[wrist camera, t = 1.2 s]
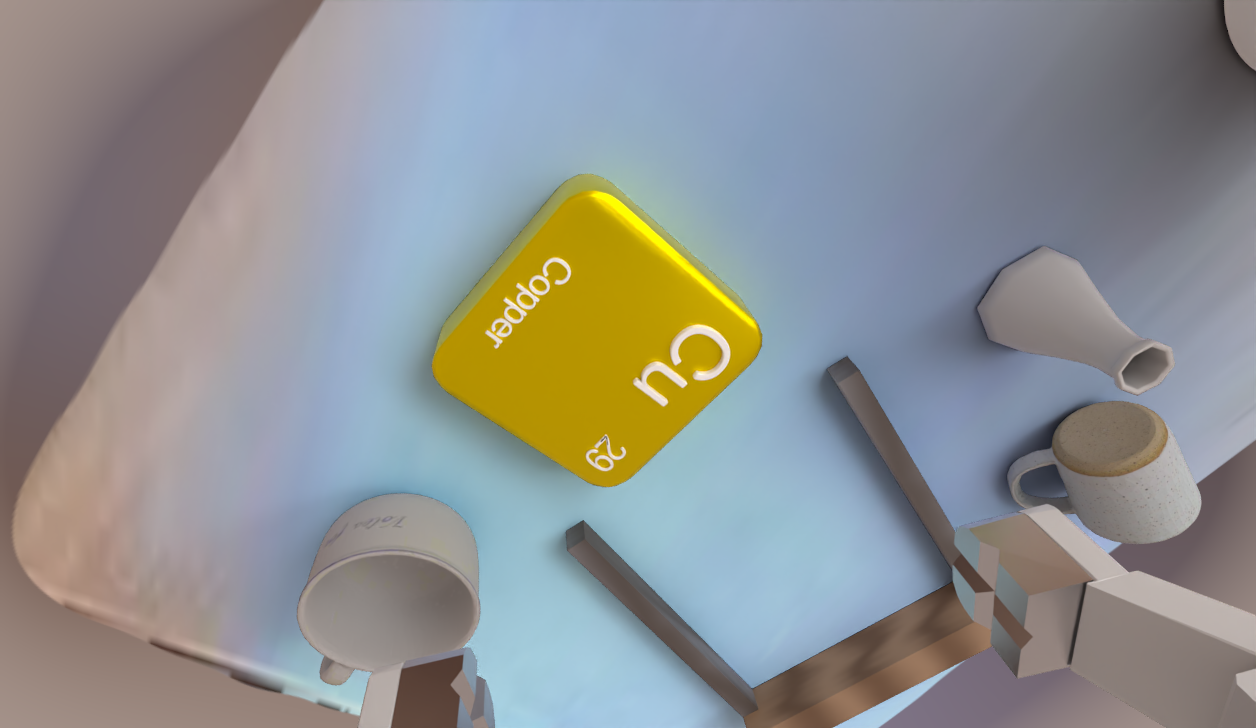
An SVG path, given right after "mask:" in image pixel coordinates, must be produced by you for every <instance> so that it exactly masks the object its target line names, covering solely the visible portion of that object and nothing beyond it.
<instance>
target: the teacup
mask: <svg viewBox="0 0 1256 728" xmlns="http://www.w3.org/2000/svg"><path fill="white" fill-rule="evenodd" d="M478 591H479V565H478V552H477V546H476V542H475V538H474V536H473V534H472V531H471V529H470V528H469V526H468V525H467V523H466V522H465V520H464V519H463V518H462V517H461V516H460V515H459V514H458V513H457V512H456V511H454V510H453V509H452V508H450V507H449V506H447V505H446V504H444V503H442V502H440V501H438V500H435V499H433V498H430V497H426V496H422V495H417V494H407V493H395V494H386V495H381V496H377V497H373V498H370V499H368V500H365V501H363V502H361V503H359V504H357V505H355V506H353V507H352V508H350V509H349V510H347V511H346V512H345V513H344V514H342V515H341V516H340V517H339V518H338V519H337V520H336V521H335V522H334V524H333V525H332V526H331V528H330V529H329V530H328V532H327V534H326V535H325V537H324V539H323V541H322V543H321V545H320V548H319V550H318V553H317V555H316V558H315V560H314V563H313V566H312V569H311V572H310V575H309V578H308V582H307V584H306V586H305V588H304V590H303V591H302V594H301V596H300V599H299V603H298V607H297V620H298V623H299V627H300V630H301V632H302V634H303V636H304V637H305V639H306V640H307V641H308V642H309V644H310V645H311V646H312V647H313V648H315V649H316V650H317V651H318V652H320V653H321V654H322V655H324V658H323V661H322V664H321V668H320V678H321V679H322V681H324V682H325V683H328V684H331V685H341V684H343V683H344V682H345V681H346V680H347V679H348V678H349V677H350V675H351V674H352V672H353V671H354V669H357V670H361V671H368V672H373V671H374V669H375V668H378V667H382V666H387V665H391V664H396V663H400V662H404V661H407V660H412V659H416V658H421V657H425V656H430V655H435V654H439V653H444V652H448V651H453V650H457V649H461V648H462V647H463V646H464V645H465V644H466V643H467V642H468V641H469V640H470V638H471V637H472V635H473V634H474V632H475V630H476V628H477V625H478V623H479V618H480V602H479V597H478Z"/></svg>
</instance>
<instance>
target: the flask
mask: <svg viewBox="0 0 1256 728" xmlns="http://www.w3.org/2000/svg"><path fill="white" fill-rule="evenodd" d="M977 309H978V312H979V315H980V317H981V320H982V323H983V325H984V328H985V331H986V333H987V336H988V339H989V340H991V341H994V342H997V343H999V344H1002V345H1005V346H1008V347H1010V348H1013V349H1016V350H1019V351H1022V352H1027V353H1032V354H1038V355H1044V356H1051V357H1057V358H1061V359H1066V360H1071V361H1076V362H1080V363H1085V364H1088V365H1090V366H1093V367H1095V368H1098V369H1099V370H1101V371H1103V372H1104V373H1106V374H1107V375H1109V376H1111V377H1112V378H1113V379H1114V382H1115V385H1116V386H1117V388H1119V389H1121V390H1123V391H1126V392H1129V393H1131V394H1134V395H1137V396H1138V395H1140V394H1142V393H1144V392H1146V391H1147V390H1149V389H1151V388H1153V387H1155V386H1157V385H1159V384H1160V383H1161V382H1162V381H1163V379H1164V378H1165V377H1166V376H1167V374H1168V373H1169V372H1170V371H1171V370H1172V368H1173V367H1174V366H1175V362H1174V357H1173V352H1172V348H1171V347H1169V346H1167V345H1164V344H1162V343H1159V342H1157V341H1154V340H1152V339H1148V338H1147V339H1143V338H1141V337H1140V336H1138V335H1137V334H1135V333H1134V332H1133V331H1132V330H1131V329H1130V328H1129V327H1128V326H1126V325H1125V324H1124V323H1123V322H1122V321H1121V320H1120V319H1118V317H1117V316H1116V314H1115V313H1114V312H1113V310H1112V309H1111V308H1110V306H1109V305H1108V304H1107V302H1106V301H1105V300H1104V298H1103V297H1102V296H1101V294H1100V293H1099V292H1098V290H1097V289H1096V287H1095V286H1094V284H1093V282H1092V281H1091V279H1090V278H1089V276H1088V275H1087V273H1086V272H1085V270H1084V269H1083V267H1082V266H1081V265H1080V263H1079V262H1078V261H1077V260H1076V259H1074V258H1071V257H1069V256H1067V255H1064V254H1062V253H1060V252H1057V251H1055V250H1053V249H1050V248H1048V247H1045V246H1043V247H1041V248H1039V249H1037V250H1036V251H1034V252H1032V253H1030V254H1029V255H1027V256H1025V257H1023V258H1021V259H1020V260H1018V261H1016V262H1014V263H1013V264H1011V265H1009V266H1007V267H1006V268H1004V269H1002V271H1001V272H1000V274H999V275H998V277H997V278H996V280H995V281H994V283H993V284H992V286H991V287H990V289H989V290H988V292H987V294H986V295H985V297H984V298H983V300H982V301H981V303H980V304H979V306H978V307H977Z"/></svg>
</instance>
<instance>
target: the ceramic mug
mask: <svg viewBox="0 0 1256 728" xmlns="http://www.w3.org/2000/svg"><path fill="white" fill-rule="evenodd" d="M1052 464H1056V467H1057V469H1058V471H1059V475H1060V477H1061V478H1062V480H1063V482H1064V485H1065V489H1066V491H1067V494H1068V497H1060V498H1043V497H1036V496H1031V495H1029V494H1026V493H1024V492H1023V491H1022V489H1021V487H1020V484H1019V482H1020V479H1021V476H1022V475H1023V474H1024V473H1026V472H1028V471H1030V470H1033V469H1036V468H1039V467H1042V466H1048V465H1052ZM1007 480H1008V485H1009V489H1010V492H1011V495H1012V497H1013V499H1014V500H1015V501H1016V502H1017V504H1019V505H1020V506H1022V507H1023V508H1025V509H1029V508H1033V507H1037V506H1041V505H1045V504H1049V505H1051V506H1054V507H1056V508H1057V509H1058V510H1059V511H1060V512H1062V513H1063V514H1076V515H1077V516H1078V518H1079V519H1080V520H1081V522H1082V523H1083V525H1085V526H1086V527H1087V528H1088V529H1090V530H1091V531H1092V532H1093V533H1095V534H1097V535H1099V536H1101V537H1104V538H1106V539H1109V540H1112V541H1116V542H1121V543H1131V544H1144V543H1155V542H1159V541H1164V540H1166V539H1169V538H1171V537H1174V536H1176V535H1178V534H1180V533H1181V532H1183V531H1184V530H1186V529H1187V528H1188V527H1189V526H1190V525H1191V524H1192V523H1193V522H1194V521H1195V519H1196V518H1197V516H1198V514H1199V512H1200V508H1201V496H1200V493H1199V490H1198V488H1197V486H1196V484H1195V482H1194V479H1193V477H1192V475H1191V473H1190V470H1189V468H1188V466H1187V464H1186V462H1185V459H1184V457H1183V455H1182V453H1181V451H1180V448H1179V446H1178V444H1177V441H1176V439H1175V437H1174V435H1173V433H1172V432H1171V430H1170V428H1169V427H1168V426H1167V424H1166V423H1165V422H1164V421H1163V420H1162V418H1161V417H1160V416H1159V415H1158V414H1156V413H1155V412H1154V411H1152V410H1150V409H1148V408H1147V407H1144V406H1142V405H1139V404H1135V403H1130V402H1124V401H1109V402H1100V403H1095V404H1091V405H1089V406H1086V407H1083V408H1081V409H1079V410H1077V411H1075V412H1074V413H1072V414H1070V415H1069V416H1068V417H1067V418H1066V419H1064V420H1063V421H1062V422H1061V423H1060V424H1059V426H1058V427H1057V429H1056V430H1055V432H1054V435H1053V438H1052V447H1051V448H1050V449H1046V450H1038V451H1034V452H1031V453H1029V454H1027V455H1025V456H1023V457H1020V458H1019V459H1017V460H1016V461H1015V462H1014V463H1013V464H1012V465H1011V466H1010V468H1009V471H1008V474H1007Z"/></svg>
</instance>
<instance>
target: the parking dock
mask: <svg viewBox="0 0 1256 728" xmlns="http://www.w3.org/2000/svg"><path fill="white" fill-rule="evenodd" d="M827 370H828V372H829V374H830V375H831V377H832V379H833V380H834V382H835V383H836V385H837V387H838V388H839V390H840V391H841V393H842V395H843V396H844V398H845V399H846V401H847V403H848V404H849V406H850V407H851V409H852V411H853V412H854V414H855V415H856V417H857V419H858V420H859V422H860V423H861V425H862V427H863V428H864V430H865V431H866V433H867V435H868V436H869V438H870V439H871V441H872V443H873V444H874V446H875V448H876V449H877V451H878V452H879V454H880V456H881V457H882V459H883V460H884V462H885V464H886V465H887V467H888V468H889V470H890V472H891V473H892V475H893V476H894V478H895V480H896V481H897V483H898V484H899V486H900V488H901V489H902V491H903V492H904V494H905V496H906V497H907V499H908V500H909V502H910V504H911V505H912V507H913V509H914V510H915V512H916V513H917V515H918V517H919V518H920V520H921V521H922V523H923V525H924V526H925V528H926V529H927V531H928V533H929V534H930V536H931V537H932V539H933V541H934V542H935V544H936V545H937V547H938V549H939V550H940V552H941V553H942V555H943V557H944V558H945V560H946V561H947V563H948V565H949V566H950V568H951V569H952V571H953V563H954V562H955V561H956V559H957V558H958V557H959V555H960V554H961V552H960V551H959V550H958V548H957V547H956V546H955V545H954V539H955V531H954V529H953V527H952V526H951V524H950V522H949V521H948V519H947V517H946V516H945V514H944V512H943V511H942V509H941V507H940V505H939V504H938V502H937V500H936V499H935V497H934V495H933V494H932V492H931V490H930V489H929V487H928V485H927V484H926V482H925V480H924V478H923V477H922V475H921V473H920V472H919V470H918V468H917V467H916V465H915V463H914V462H913V460H912V458H911V457H910V455H909V453H908V451H907V450H906V448H905V446H904V445H903V443H902V441H901V440H900V438H899V436H898V435H897V433H896V431H895V430H894V428H893V426H892V424H891V423H890V421H889V419H888V418H887V416H886V414H885V413H884V411H883V409H882V408H881V406H880V404H879V403H878V401H877V399H876V397H875V396H874V394H873V392H872V391H871V389H870V387H869V386H868V384H867V382H866V381H865V379H864V377H863V376H862V374H861V372H860V370H859V369H858V368H857V367H856V366H855V365H854V364H853V362H852V361H851V360H850V359H849V358H848V357H845V358H843V359H842V360H840V361H839V362H837V363H835V364H834V365H832V366H831V367H829V368H827ZM566 540H567V551H568V552H569V553H570V554H571V555H573V556H574V557H575V558H576V559H577V560H578V561H579V562H580V563H581V564H582V565H583V566H584V567H585V568H586V569H587V570H588V571H589V572H590V573H592V574H593V575H594V576H595V577H596V578H597V579H598V580H599V581H600V582H601V583H602V584H603V585H604V586H605V587H606V588H607V589H608V590H609V591H610V592H612V593H613V594H614V595H615V596H616V597H617V598H618V599H619V600H620V601H621V602H622V603H623V604H624V605H625V606H626V607H627V608H628V609H629V610H631V611H632V612H633V613H634V614H635V615H636V616H637V617H638V618H639V619H640V620H641V621H642V622H643V623H644V624H645V625H646V626H647V627H648V628H650V629H651V630H652V631H653V632H654V633H655V634H656V635H657V636H658V637H659V638H660V639H661V640H662V641H663V642H664V643H665V644H666V645H667V646H668V647H670V648H671V649H672V650H673V651H674V652H675V653H676V654H677V655H678V656H679V657H680V658H681V659H682V660H683V661H684V662H685V663H686V664H687V665H689V666H690V667H691V668H692V669H693V670H694V671H695V672H696V673H697V674H698V675H699V676H700V677H701V678H702V679H703V680H704V681H705V682H706V683H708V684H709V685H710V686H711V687H712V688H713V689H714V690H715V691H716V692H717V693H718V694H719V695H720V696H721V697H722V698H723V699H724V700H725V701H726V702H728V703H729V704H730V705H731V706H732V707H733V708H734V709H735V710H736V711H737V712H738V713H739V714H740V715H741V716H742V717H743V718H744V722H745V725H746V728H833V727H835V726H837V725H839V724H841V723H843V722H845V721H846V720H848V719H850V718H852V717H854V716H856V715H858V714H860V713H862V712H864V711H866V710H868V709H870V708H872V707H874V706H876V705H878V704H880V703H882V702H884V701H886V700H888V699H890V698H892V697H894V696H895V695H897V694H899V693H901V692H903V691H905V690H907V689H909V688H911V687H913V686H915V685H917V684H919V683H921V682H923V681H925V680H927V679H929V678H931V677H933V676H935V675H937V674H939V673H941V672H943V671H944V670H946V669H948V668H950V667H952V666H954V665H956V664H958V663H960V662H962V661H964V660H966V659H968V658H970V657H972V656H974V655H976V654H978V653H980V652H982V651H984V650H986V649H987V648H990V647H992V645H991V644H990V640H991V630H990V629H988V628H986V627H984V626H982V625H980V624H978V623H976V622H974V621H973V620H972V619H971V617H970V616H969V614H968V613H967V612H966V610H965V609H964V607H963V606H962V604H961V602H960V600H959V598H958V596H957V593H956V590H955V586H954V583H953V582H952V583H950V584H948V585H946V586H944V587H942V588H940V589H939V590H937V591H935V592H933V593H931V594H929V595H927V596H925V597H924V598H922V599H920V600H918V601H916V602H914V603H912V604H911V605H909V606H907V607H905V608H903V609H901V610H899V611H897V612H896V613H894V614H892V615H890V616H888V617H886V618H884V619H883V620H881V621H879V622H877V623H875V624H873V625H871V626H869V627H868V628H866V629H864V630H862V631H860V632H858V633H856V634H855V635H853V636H851V637H849V638H847V639H845V640H843V641H841V642H840V643H838V644H836V645H834V646H832V647H830V648H828V649H826V650H825V651H823V652H821V653H819V654H817V655H815V656H813V657H812V658H810V659H808V660H806V661H804V662H802V663H800V664H798V665H797V666H795V667H793V668H791V669H789V670H787V671H785V672H784V673H782V674H780V675H778V676H776V677H774V678H772V679H770V680H769V681H767V682H765V683H763V684H761V685H759V686H757V687H756V688H754V689H752V688H751V687H750V686H749V685H748V684H747V683H746V682H745V681H744V680H743V679H742V678H741V677H740V676H739V675H738V674H737V673H736V672H735V671H734V670H733V669H732V668H731V667H730V666H729V665H728V664H727V663H726V662H725V661H724V660H723V659H722V658H721V657H720V656H719V655H718V654H717V653H716V652H715V651H714V650H713V649H712V648H711V647H710V646H709V645H708V644H707V643H706V642H705V641H704V640H703V639H702V638H701V637H700V636H699V635H698V634H697V633H696V632H695V631H694V630H693V629H692V628H691V627H690V626H689V625H688V624H687V623H686V622H685V621H684V620H683V619H682V618H681V617H680V616H679V615H678V614H677V613H676V612H675V611H674V610H673V609H672V608H671V607H670V606H669V605H668V604H667V603H666V602H665V601H664V600H663V599H662V598H661V597H660V596H659V595H658V594H657V593H656V592H655V591H654V590H653V589H652V588H651V587H650V586H649V585H648V584H647V583H646V582H645V581H644V580H643V579H642V578H641V577H640V576H639V575H638V574H637V573H636V572H635V571H634V570H633V569H632V568H631V567H630V566H629V565H628V564H627V563H626V562H625V561H624V560H623V559H622V558H621V557H620V556H619V555H618V554H617V553H616V552H615V551H614V550H613V549H612V548H611V547H610V546H609V545H608V544H607V543H606V542H605V541H604V540H603V539H602V538H601V537H600V536H599V535H598V534H597V533H596V532H595V531H594V530H593V529H592V528H591V527H590V526H589V525H588V524H587V523H586V522H585V521H584V520H583V521H582V522H580V523H578V524H577V525H575V526H574V527H572V528H570V529H569V530H567V531H566Z"/></svg>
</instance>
